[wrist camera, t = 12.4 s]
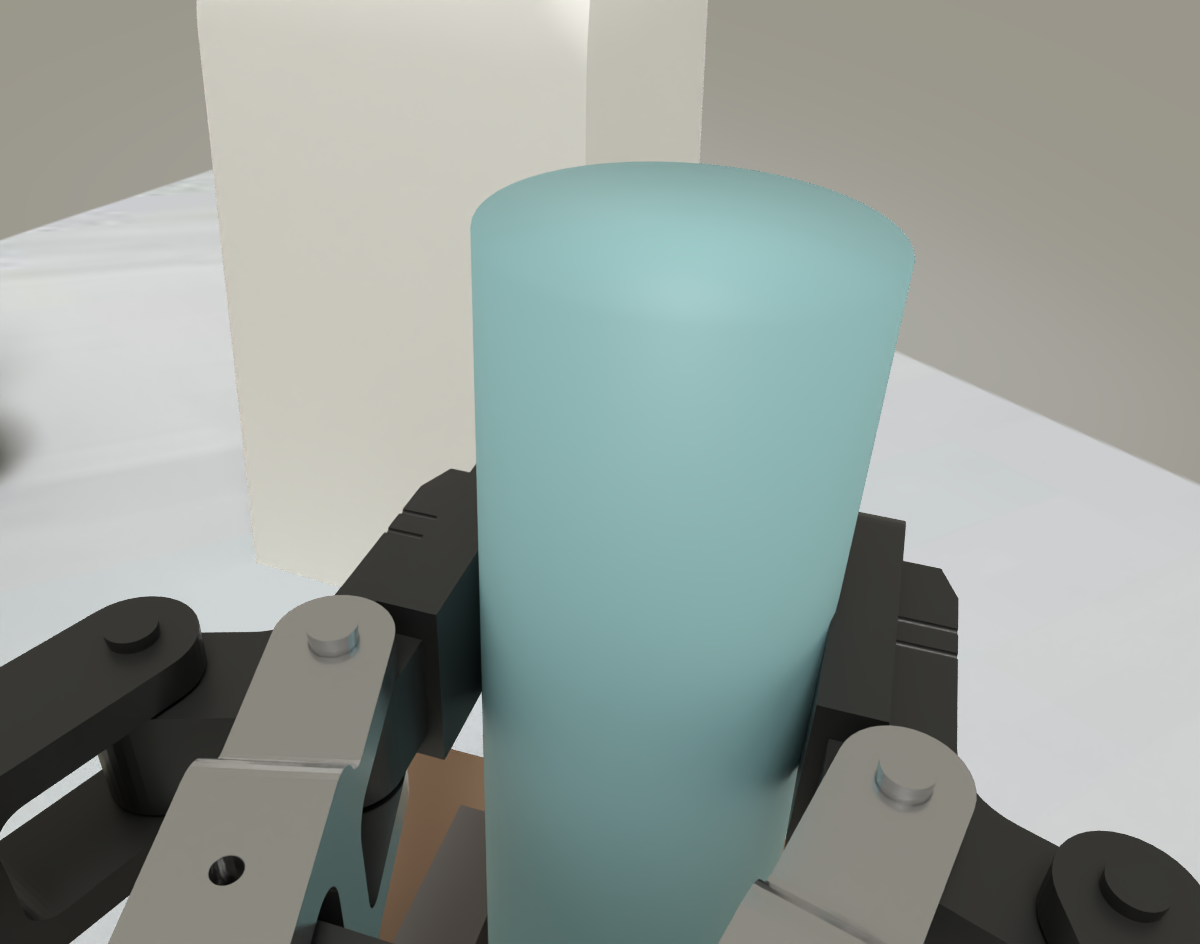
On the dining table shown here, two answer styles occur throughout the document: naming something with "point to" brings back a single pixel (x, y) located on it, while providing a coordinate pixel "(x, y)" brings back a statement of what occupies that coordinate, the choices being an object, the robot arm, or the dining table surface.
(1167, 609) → the dining table surface
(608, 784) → the teal peg
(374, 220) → the milk
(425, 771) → the wooden peg socket board
